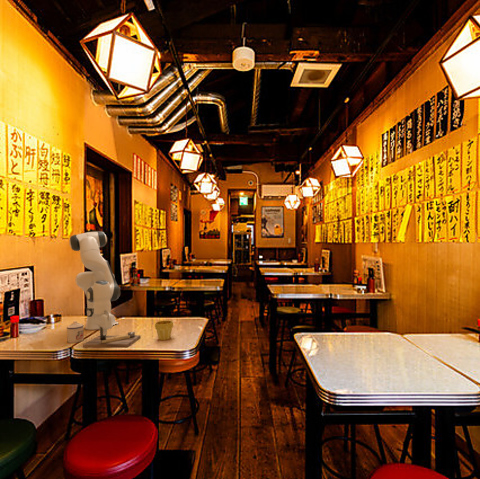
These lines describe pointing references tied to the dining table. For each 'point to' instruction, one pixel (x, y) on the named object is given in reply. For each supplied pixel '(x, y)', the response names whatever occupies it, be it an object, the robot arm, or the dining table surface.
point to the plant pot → (164, 329)
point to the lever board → (119, 343)
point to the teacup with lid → (75, 332)
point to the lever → (105, 340)
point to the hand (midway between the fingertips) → (103, 334)
